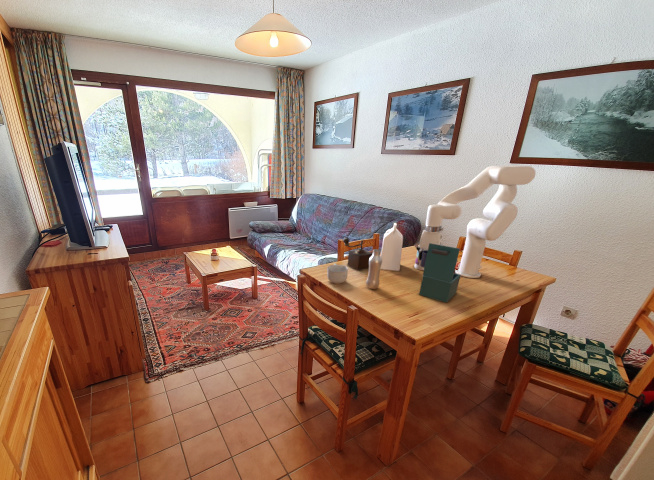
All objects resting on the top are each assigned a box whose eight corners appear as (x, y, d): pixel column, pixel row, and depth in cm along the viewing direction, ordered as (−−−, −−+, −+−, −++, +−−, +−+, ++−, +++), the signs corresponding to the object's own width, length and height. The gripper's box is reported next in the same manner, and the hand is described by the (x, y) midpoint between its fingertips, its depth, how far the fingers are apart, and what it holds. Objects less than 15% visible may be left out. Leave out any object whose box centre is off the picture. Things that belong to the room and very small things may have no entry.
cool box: (429, 285, 160) (433, 268, 156) (456, 293, 152) (460, 274, 148) (419, 294, 150) (422, 276, 147) (446, 302, 142) (451, 283, 139)
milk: (399, 270, 180) (406, 227, 170) (378, 268, 184) (384, 225, 174) (399, 264, 191) (405, 222, 181) (379, 262, 194) (385, 221, 184)
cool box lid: (429, 243, 141) (425, 245, 137) (460, 248, 133) (456, 250, 129) (423, 275, 147) (418, 277, 143) (451, 282, 139) (448, 285, 135)
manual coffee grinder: (360, 262, 194) (363, 234, 187) (371, 268, 185) (375, 238, 178) (339, 266, 188) (341, 237, 181) (350, 272, 179) (353, 241, 172)
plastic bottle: (378, 286, 160) (384, 249, 152) (378, 291, 154) (383, 253, 146) (366, 284, 162) (370, 247, 154) (365, 289, 156) (369, 251, 148)
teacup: (346, 286, 160) (348, 271, 157) (325, 284, 162) (326, 270, 159) (346, 276, 172) (348, 263, 169) (327, 275, 174) (328, 261, 171)
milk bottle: (429, 267, 186) (435, 235, 178) (426, 271, 180) (433, 237, 172) (415, 265, 190) (421, 233, 182) (412, 268, 184) (418, 236, 176)
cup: (424, 263, 174) (427, 249, 171) (435, 266, 169) (438, 252, 166) (417, 265, 171) (419, 251, 168) (428, 268, 166) (430, 254, 163)
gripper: (452, 229, 159) (446, 262, 166) (418, 225, 170) (414, 256, 177) (448, 232, 154) (441, 266, 161) (413, 227, 165) (408, 259, 172)
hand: (427, 260), depth 169 cm, fingers closed on cup, 6 cm apart
